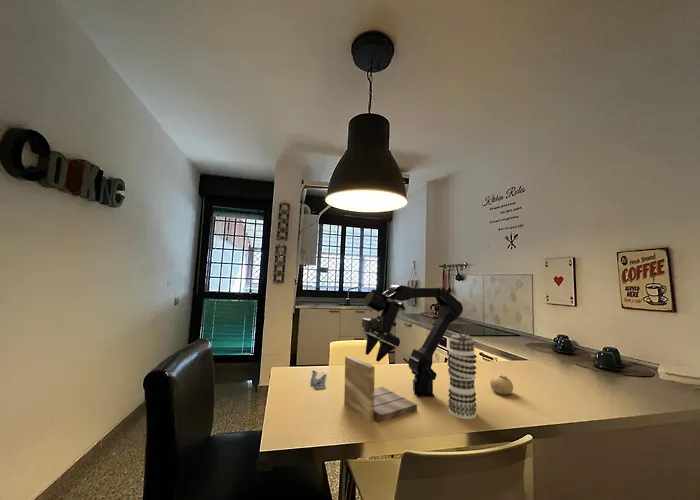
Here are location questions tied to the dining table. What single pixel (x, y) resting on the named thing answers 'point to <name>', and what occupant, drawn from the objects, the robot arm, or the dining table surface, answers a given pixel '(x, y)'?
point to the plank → (359, 387)
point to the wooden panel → (390, 405)
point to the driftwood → (318, 381)
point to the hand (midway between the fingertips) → (371, 357)
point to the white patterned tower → (462, 376)
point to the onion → (501, 384)
